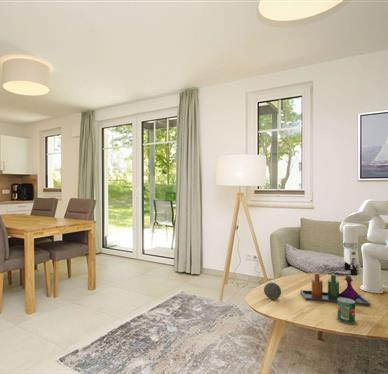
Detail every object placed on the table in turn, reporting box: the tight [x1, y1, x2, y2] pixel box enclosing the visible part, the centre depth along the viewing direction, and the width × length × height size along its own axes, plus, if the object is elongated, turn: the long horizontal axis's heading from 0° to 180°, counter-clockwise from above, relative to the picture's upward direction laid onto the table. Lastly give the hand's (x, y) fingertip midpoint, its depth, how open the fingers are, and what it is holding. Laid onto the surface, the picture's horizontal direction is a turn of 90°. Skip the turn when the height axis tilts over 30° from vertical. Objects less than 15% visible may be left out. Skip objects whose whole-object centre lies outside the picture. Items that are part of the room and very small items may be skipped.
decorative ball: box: [263, 282, 282, 300], centre depth 190 cm, size 10×10×10 cm
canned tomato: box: [336, 297, 356, 325], centre depth 160 cm, size 8×8×11 cm
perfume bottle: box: [339, 270, 361, 301], centre depth 185 cm, size 8×8×18 cm
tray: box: [300, 289, 371, 307], centre depth 188 cm, size 34×14×2 cm, turn 74°
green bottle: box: [327, 273, 340, 300], centre depth 187 cm, size 6×6×15 cm
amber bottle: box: [311, 272, 324, 299], centre depth 190 cm, size 6×6×15 cm
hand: (350, 272), depth 185 cm, fingers open, 9 cm apart
